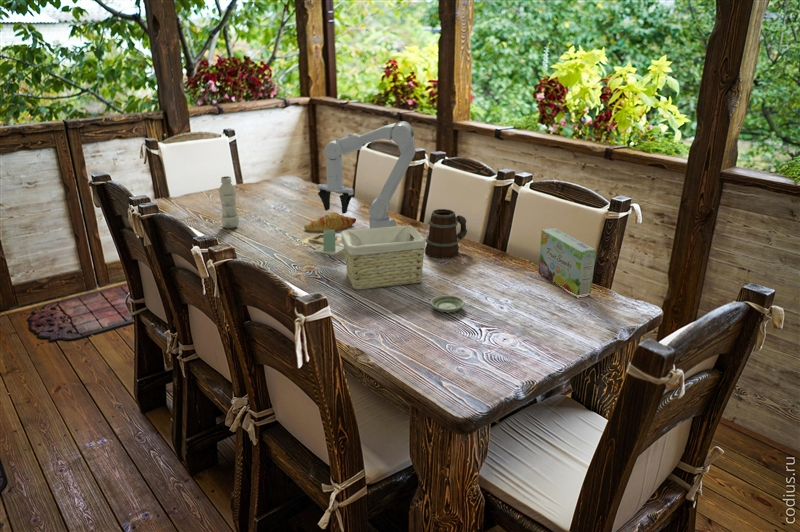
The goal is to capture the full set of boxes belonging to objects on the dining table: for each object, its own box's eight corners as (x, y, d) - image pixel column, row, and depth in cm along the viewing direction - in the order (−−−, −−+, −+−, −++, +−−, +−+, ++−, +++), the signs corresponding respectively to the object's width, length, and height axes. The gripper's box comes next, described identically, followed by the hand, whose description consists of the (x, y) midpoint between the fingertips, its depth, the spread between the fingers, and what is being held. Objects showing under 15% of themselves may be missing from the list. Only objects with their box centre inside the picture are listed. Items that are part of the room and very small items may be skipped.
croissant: (307, 243, 231) (309, 228, 225) (299, 224, 236) (301, 210, 230) (358, 234, 239) (361, 220, 233) (349, 217, 245) (352, 202, 239)
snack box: (536, 273, 196) (540, 229, 190) (551, 270, 197) (555, 227, 192) (575, 299, 177) (582, 251, 171) (591, 296, 179) (598, 248, 173)
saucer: (445, 299, 177) (445, 291, 176) (471, 309, 170) (471, 301, 169) (423, 309, 170) (423, 301, 169) (449, 320, 164) (449, 312, 163)
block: (335, 247, 215) (335, 229, 212) (335, 250, 211) (334, 233, 209) (324, 247, 214) (323, 229, 212) (323, 251, 211) (323, 233, 208)
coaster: (345, 249, 214) (345, 247, 214) (332, 256, 208) (332, 254, 208) (327, 245, 218) (326, 243, 218) (313, 252, 211) (313, 250, 211)
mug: (436, 261, 205) (437, 218, 199) (419, 250, 214) (420, 209, 209) (474, 254, 211) (477, 212, 206) (456, 243, 221) (458, 204, 216)
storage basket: (349, 292, 180) (348, 246, 175) (341, 272, 195) (339, 229, 189) (426, 285, 186) (427, 240, 180) (412, 266, 200) (412, 223, 195)
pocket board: (347, 240, 223) (347, 236, 222) (330, 249, 214) (330, 245, 213) (316, 234, 229) (316, 230, 228) (298, 243, 220) (298, 238, 219)
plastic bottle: (242, 225, 239) (237, 175, 232) (236, 230, 233) (231, 179, 225) (226, 224, 240) (221, 175, 232) (219, 229, 233) (214, 179, 226)
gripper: (357, 175, 217) (358, 211, 222) (324, 170, 223) (325, 206, 228) (346, 179, 211) (347, 216, 216) (313, 174, 217) (314, 210, 222)
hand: (335, 211), depth 222 cm, fingers open, 7 cm apart
